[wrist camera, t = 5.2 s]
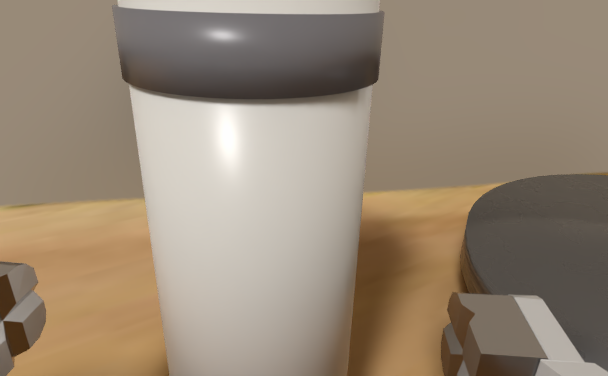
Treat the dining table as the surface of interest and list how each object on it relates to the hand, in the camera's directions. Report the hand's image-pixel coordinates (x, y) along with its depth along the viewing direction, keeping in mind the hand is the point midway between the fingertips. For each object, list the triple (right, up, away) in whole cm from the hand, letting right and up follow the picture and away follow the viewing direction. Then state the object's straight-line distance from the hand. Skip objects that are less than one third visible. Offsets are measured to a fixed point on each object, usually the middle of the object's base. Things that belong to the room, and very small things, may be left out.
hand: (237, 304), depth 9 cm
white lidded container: (0, -5, +5) cm, 7 cm away
